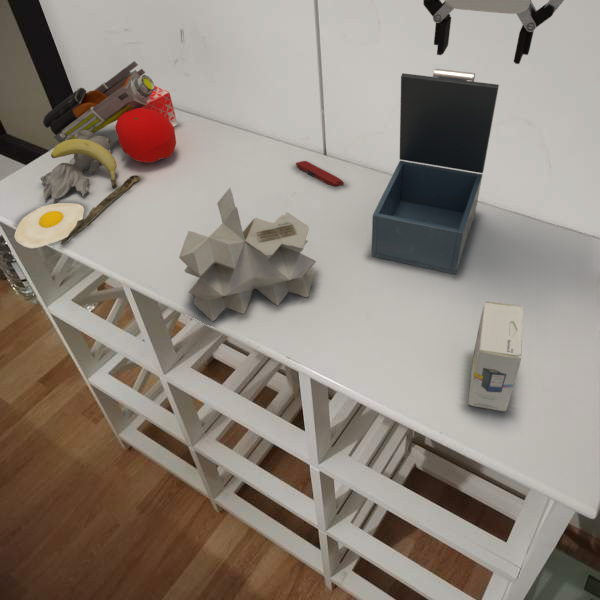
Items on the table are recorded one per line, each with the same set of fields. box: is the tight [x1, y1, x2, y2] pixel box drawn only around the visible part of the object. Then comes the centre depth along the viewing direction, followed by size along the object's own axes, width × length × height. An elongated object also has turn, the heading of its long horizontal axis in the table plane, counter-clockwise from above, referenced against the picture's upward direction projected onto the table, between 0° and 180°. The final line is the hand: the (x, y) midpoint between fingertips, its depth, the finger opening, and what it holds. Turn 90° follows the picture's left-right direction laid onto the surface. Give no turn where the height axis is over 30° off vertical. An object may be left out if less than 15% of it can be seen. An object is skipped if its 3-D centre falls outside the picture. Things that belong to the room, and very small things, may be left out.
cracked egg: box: [13, 202, 85, 249], centre depth 108 cm, size 13×12×1 cm
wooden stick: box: [60, 174, 141, 246], centre depth 109 cm, size 2×23×2 cm, turn 153°
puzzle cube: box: [141, 85, 179, 128], centre depth 127 cm, size 8×8×8 cm
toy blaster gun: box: [42, 60, 156, 143], centre depth 121 cm, size 9×26×10 cm
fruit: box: [50, 139, 117, 188], centre depth 114 cm, size 7×13×3 cm
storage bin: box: [371, 160, 483, 275], centre depth 96 cm, size 16×14×9 cm
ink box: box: [467, 301, 524, 412], centre depth 74 cm, size 9×5×12 cm, turn 164°
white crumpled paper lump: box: [178, 187, 317, 322], centre depth 91 cm, size 23×19×15 cm
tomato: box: [114, 108, 177, 164], centre depth 118 cm, size 11×13×10 cm
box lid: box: [399, 68, 500, 174], centre depth 91 cm, size 16×14×5 cm
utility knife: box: [295, 160, 345, 187], centre depth 112 cm, size 12×1×2 cm
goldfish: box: [39, 130, 113, 201], centre depth 118 cm, size 20×10×9 cm
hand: (479, 54), depth 73 cm, fingers open, 9 cm apart
